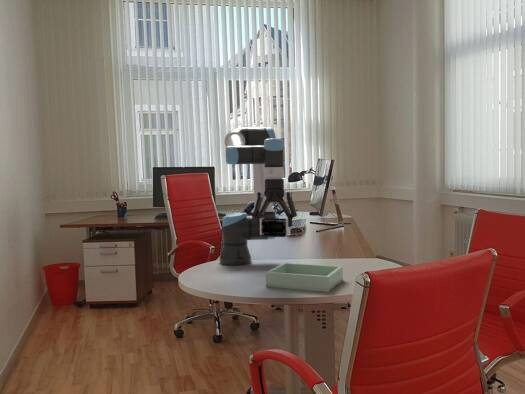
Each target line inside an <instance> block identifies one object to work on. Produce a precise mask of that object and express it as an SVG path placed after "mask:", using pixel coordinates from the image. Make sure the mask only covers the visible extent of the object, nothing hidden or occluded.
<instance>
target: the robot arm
mask: <svg viewBox="0 0 525 394" xmlns="http://www.w3.org/2000/svg"><path fill="white" fill-rule="evenodd" d="M224 145H225V150H224V151H225V163H226V164H227V165H235V166H236V165H252V169H253V170H252V173H253V176H252V177H253V207H254V208H253V209H252V210H251V212H250V215H248V213H247V212H237V213H231V214H227V215H225V216H223V218H222V225H221V226H222V249H221V252H220V254H219V264H220V265H225V266H241V265H242V266H243V265H248V264H251V263H252V255H251V253H250V250H249V248H248V241H261V240H263V241H268V240H275V239H276V238H277V237H262V235H263V233H262V231H261V230H262V229H263V226H261V222H262V221H263V219H264V218H268V219H280V215H278V214H276V210H275V209H274V208H273V203H278V205H280V207H281V209H282V211H283V212H284V214H285V216H286V217H287V218H285V219H286V236H285V237H289V236H291V228H292V227H293V219H294V218H296V217H297V216H298V213H297V210H296V207H295V204H294V201H293V192H291V191H285V180H284V177H285V176H284V175H285V173H284V172H285V171H284V167H285V166H284V148H285V147H284V141H283V139H282V138H278V137H276V133H275V130H274V129H273V127H271V126H270V127H268V126H255V127H254V126H248V127H246V126H244V127H238V128H234V129H233V130H231V131H229V132H228V133H227V134H226V135H225V138H224ZM284 196H285V198H286V201H287V203H286V201H285V199H284ZM287 204H288V206H287Z"/></svg>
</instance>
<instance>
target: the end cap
mask: <svg viewBox="0 0 525 394" xmlns="http://www.w3.org/2000/svg"><path fill="white" fill-rule="evenodd" d="M286 219H287V218H279V219H268V218H264V219H263V221H262V222H261V226H263V229H262V230H261V231H262V233H263V235H262V237H276V238H286V237H287V236H286Z"/></svg>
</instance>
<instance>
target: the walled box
mask: <svg viewBox="0 0 525 394" xmlns="http://www.w3.org/2000/svg"><path fill="white" fill-rule="evenodd" d="M343 270H344V269H343V266H339V265H327V264H309V263H308V264H307V263H294V262H292V263H291V262H284V263H281V264H279V265H278V266H275V267H273V268H272V269H270V270H268V271H266V272H265V287H266V288H274V289H288V290H299V291H308V292H310V291H312V292H321V291H323V292H322V293H324V292H325V293H330V292H331V291H332V290H333V289H335V288H336V287H337V286H338V285H339V284H340V283H341V282H342V281H343V278H344V277H343V276H344V273H343V272H344V271H343ZM336 285H337V286H336ZM330 290H331V291H330ZM329 291H330V292H329Z"/></svg>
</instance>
